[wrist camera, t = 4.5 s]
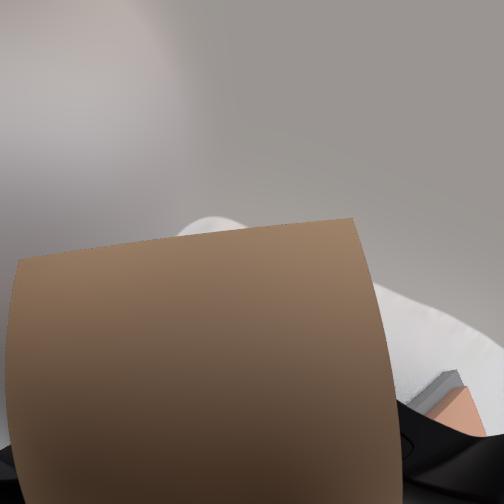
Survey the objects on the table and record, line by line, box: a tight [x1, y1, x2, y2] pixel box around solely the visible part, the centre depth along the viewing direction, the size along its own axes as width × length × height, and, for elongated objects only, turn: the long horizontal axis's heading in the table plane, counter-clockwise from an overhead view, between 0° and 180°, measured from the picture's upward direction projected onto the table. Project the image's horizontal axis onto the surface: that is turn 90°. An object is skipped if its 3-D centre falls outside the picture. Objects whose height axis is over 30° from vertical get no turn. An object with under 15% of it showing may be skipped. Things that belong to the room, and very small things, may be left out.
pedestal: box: [406, 369, 487, 437], centre depth 12 cm, size 10×10×4 cm
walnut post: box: [5, 218, 403, 504], centre depth 8 cm, size 5×5×13 cm
